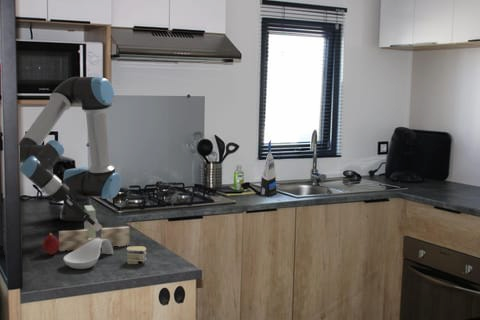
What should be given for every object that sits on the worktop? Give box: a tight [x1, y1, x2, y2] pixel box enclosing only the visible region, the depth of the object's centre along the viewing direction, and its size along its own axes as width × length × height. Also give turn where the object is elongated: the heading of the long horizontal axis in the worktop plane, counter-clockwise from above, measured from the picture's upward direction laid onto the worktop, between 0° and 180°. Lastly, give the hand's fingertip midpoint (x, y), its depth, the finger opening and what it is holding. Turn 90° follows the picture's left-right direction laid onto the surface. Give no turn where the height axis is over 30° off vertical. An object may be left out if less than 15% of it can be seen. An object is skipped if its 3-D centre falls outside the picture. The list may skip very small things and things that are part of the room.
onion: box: [42, 232, 60, 256], centre depth 228 cm, size 6×6×8 cm
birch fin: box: [58, 225, 131, 252], centre depth 240 cm, size 26×2×7 cm, turn 112°
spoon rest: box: [62, 237, 114, 270], centre depth 220 cm, size 24×12×7 cm, turn 163°
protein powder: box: [259, 139, 278, 198], centre depth 362 cm, size 10×24×30 cm, turn 174°
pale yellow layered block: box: [125, 245, 148, 265], centre depth 221 cm, size 10×9×6 cm
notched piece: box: [83, 204, 97, 238], centre depth 250 cm, size 10×3×12 cm, turn 22°
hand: (97, 226), depth 252 cm, fingers closed on notched piece, 10 cm apart
